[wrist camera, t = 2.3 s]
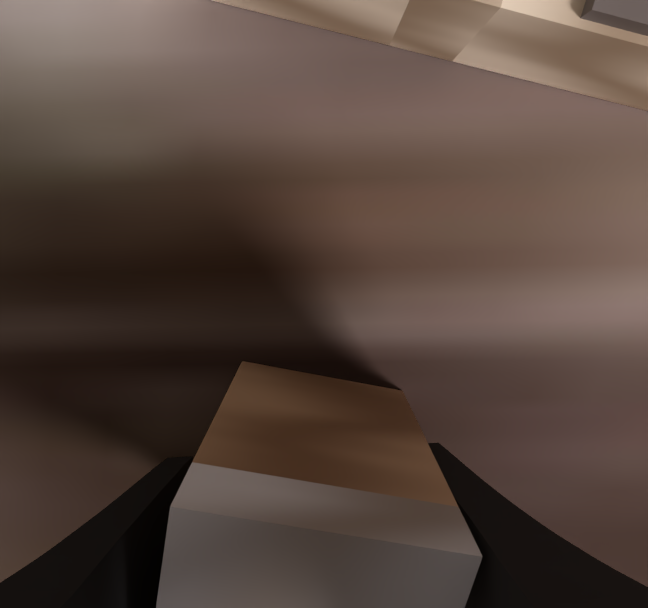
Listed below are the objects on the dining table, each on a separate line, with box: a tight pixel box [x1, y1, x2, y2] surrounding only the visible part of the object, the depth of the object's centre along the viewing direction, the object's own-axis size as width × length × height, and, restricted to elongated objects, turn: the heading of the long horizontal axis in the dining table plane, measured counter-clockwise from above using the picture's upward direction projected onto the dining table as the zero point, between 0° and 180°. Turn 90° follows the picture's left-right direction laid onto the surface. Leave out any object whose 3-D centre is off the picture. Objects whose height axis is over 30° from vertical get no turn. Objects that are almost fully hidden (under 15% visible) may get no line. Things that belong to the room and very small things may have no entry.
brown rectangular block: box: [156, 361, 483, 608], centre depth 9 cm, size 4×4×6 cm
